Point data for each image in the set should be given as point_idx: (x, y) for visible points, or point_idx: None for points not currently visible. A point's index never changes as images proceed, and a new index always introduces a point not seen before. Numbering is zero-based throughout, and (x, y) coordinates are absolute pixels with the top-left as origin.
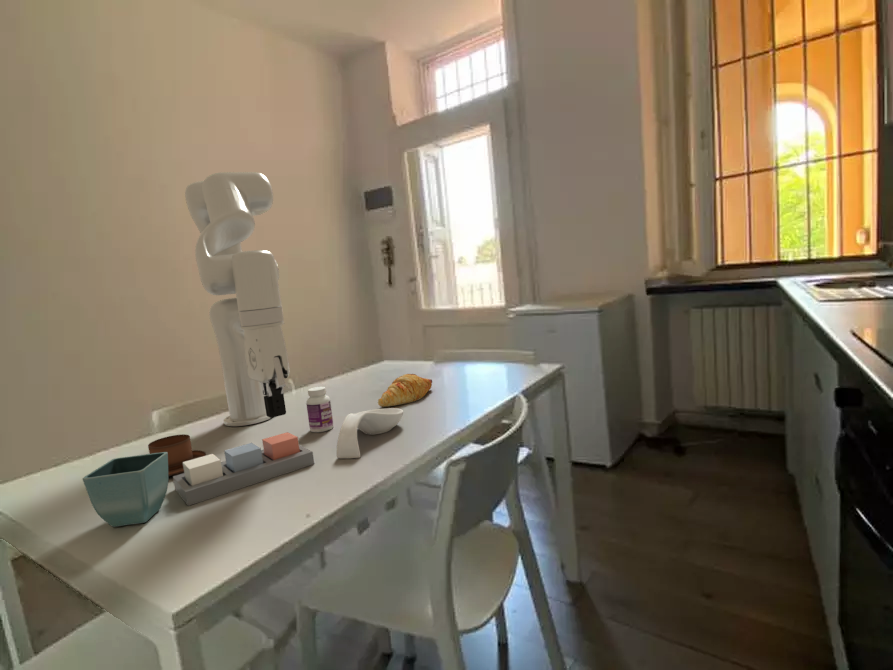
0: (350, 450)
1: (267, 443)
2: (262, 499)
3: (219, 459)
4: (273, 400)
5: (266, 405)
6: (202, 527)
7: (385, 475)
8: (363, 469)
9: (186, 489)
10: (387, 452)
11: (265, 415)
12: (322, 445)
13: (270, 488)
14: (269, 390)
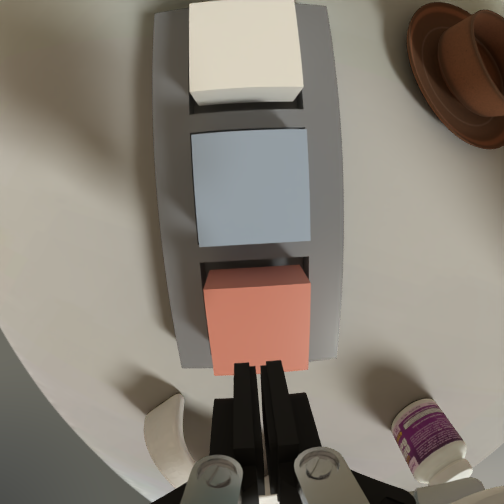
0: (152, 419)
1: (252, 285)
2: (60, 181)
3: (198, 89)
4: (210, 449)
5: (271, 403)
6: (38, 63)
7: (42, 389)
8: (84, 388)
9: (171, 14)
10: (143, 447)
11: None
12: (309, 400)
13: (105, 212)
14: (185, 498)
